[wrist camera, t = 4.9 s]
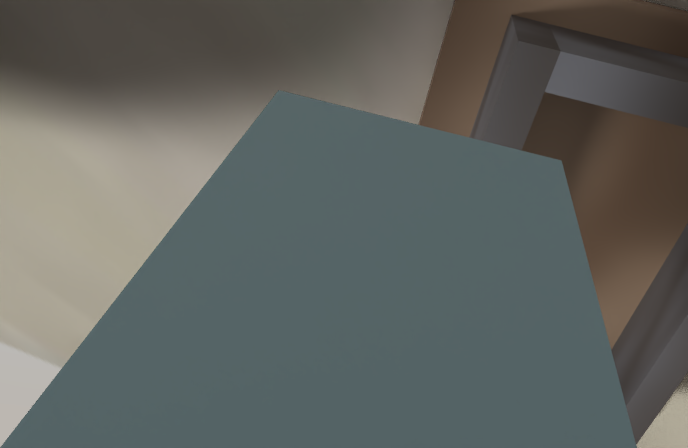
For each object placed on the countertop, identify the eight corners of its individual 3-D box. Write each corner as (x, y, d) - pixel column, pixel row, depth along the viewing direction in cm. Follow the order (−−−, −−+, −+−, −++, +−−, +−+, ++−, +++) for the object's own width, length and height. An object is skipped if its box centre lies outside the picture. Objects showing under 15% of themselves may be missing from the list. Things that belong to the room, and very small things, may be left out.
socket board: (356, 339, 24) (343, 400, 22) (466, -43, 17) (468, -20, 14) (637, 413, 24) (659, 484, 21) (882, 59, 16) (962, 102, 14)
